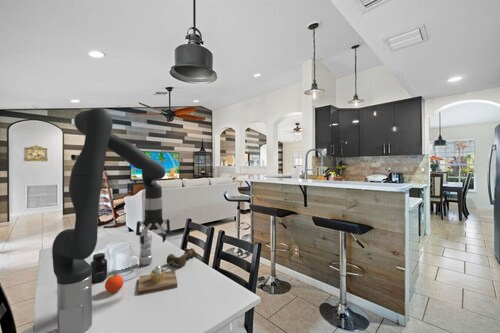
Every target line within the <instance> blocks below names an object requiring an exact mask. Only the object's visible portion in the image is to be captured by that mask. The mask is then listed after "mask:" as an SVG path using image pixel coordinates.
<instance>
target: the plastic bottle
mask: <svg viewBox="0 0 500 333" xmlns="http://www.w3.org/2000/svg"><path fill="white" fill-rule="evenodd" d="M144 229H145V226H144V227H141V232H142V231H143V230H144ZM138 240H139V248H140V250H139V256H138V262H140V263H139V265H140V266H147V265H150V264H151V263H152V261H153V256H152V243H153V234H152V233H151V230H147V232H146V233H145V234H144V244H143V245H142V243H141V237H140V236H139V238H138Z"/></svg>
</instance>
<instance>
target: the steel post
mask: <svg viewBox="0 0 500 333" xmlns="http://www.w3.org/2000/svg"><path fill="white" fill-rule="evenodd" d="M161 268H162V267H161V265H156V266H155V267H154V269H153V270H154V274H158V273H161Z"/></svg>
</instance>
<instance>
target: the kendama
mask: <svg viewBox="0 0 500 333" xmlns="http://www.w3.org/2000/svg"><path fill="white" fill-rule="evenodd" d="M195 256H196V251H195V248H193V247H192V248H189V249H188V250H186V251H184V253H183V254H182V255H181V256H179V257H178V256H176V255H174V253H171V254H168V255H167V257H166V264H167V266H169V265H173V264H176V265H177V266H178V268H184V267H185V265H186V263H187V260H189V259H190V258H193V257H195Z"/></svg>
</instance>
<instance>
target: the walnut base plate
mask: <svg viewBox="0 0 500 333" xmlns="http://www.w3.org/2000/svg"><path fill="white" fill-rule="evenodd" d="M137 287H138V288H137V296H138V295H144V294H148V293H154V292H159V291H164V290H170V289H174V288H178V279H177V275H176V270H175V269H174V270H168V271H165V280H164V281H162V282H160V283H151V273H150V274H145V275H140V276H139V281H138V286H137Z"/></svg>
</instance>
